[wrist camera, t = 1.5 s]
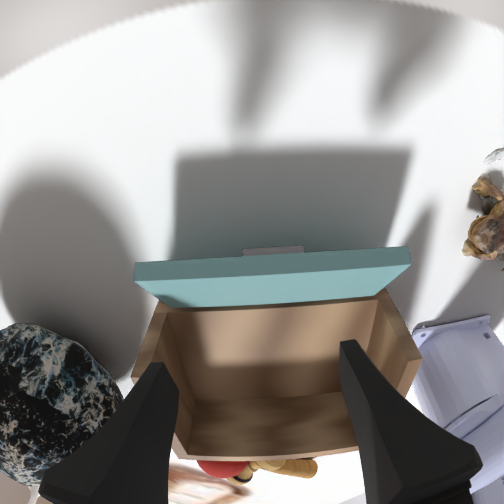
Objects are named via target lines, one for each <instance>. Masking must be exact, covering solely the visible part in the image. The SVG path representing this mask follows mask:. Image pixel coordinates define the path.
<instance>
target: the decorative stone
mask: <svg viewBox="0 0 504 504" xmlns="http://www.w3.org/2000/svg"><path fill="white" fill-rule="evenodd" d="M123 401H124V399H123V396H122V394H121V392H120V390H119V388H118V386H117V384H116V383H115V381H114V379H113V378H112V376H111V375H110V374H109V372H108V371H107V370H106V369H105V368H104V367H102V366H101V365H100V364H99V363H98V362H97V361H96V360H95V358H94V357H93V356H92V355H91V354H90V353H89V352H88V351H87V350H86V348H85V347H83V346H82V345H81V344H80V343H78V342H76V341H73V340H70V339H67V338H64V337H62V336H60V335H58V334H56V333H54V332H52V331H50V330H47V329H45V328H43V327H41V326H38V325H33V324H23V323H15V324H13V325H11V326H8V327H7V328H5V329H2V330H0V472H2V473H3V474H4V475H6V476H8V477H10V478H12V479H14V480H15V481H18V482H19V483H21V484H23V485H27V486H30V487H31V486H37V487H40V483H41V480H42V477H43V474H44V471H45V470H46V469H48V468H50V467H52V466H53V465H55V464H57V463H58V462H60V461H62V460H63V459H65V458H66V457H68V456H69V455H70V454H72V453H73V452H74V451H76V450H77V449H78V448H80V447H81V446H82V445H83V444H84V443H85V442H86V441H88V440H89V439H90V438H91V437H92V436H93V435H94V434H95V433H96V432H97V431H98V430H99V429H100V428H101V427H102V426H103V425H104V424H105V423H106V422H107V421H108V419H109V418H110V417H111V416H112V415H113V413H114V412H115V411H116V410H117V408H118V407H119V406H120V405H121V403H122V402H123Z"/></svg>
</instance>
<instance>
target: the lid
mask: <svg viewBox="0 0 504 504" xmlns="http://www.w3.org/2000/svg"><path fill="white" fill-rule="evenodd" d="M410 265H412V263H411V258H410V254H409V249H408V246H401V247H386V248H370V249H354V250H338V251H322V252H305V253H304V245H300V246H283V247H267V248H250V249H243V256H239V257H222V258H205V259H188V260H170V261H153V262H135V272H134V282H135V283H137V284H138V285H140V286H141V287H142V288H144V289H145V290H146V291H148V292H149V293H151V294H152V295H154V296H155V297H156V298H158V299H159V300H161V301H162V302H164V303H165V304H166V305H168V306H169V307H171V308H188V307H218V306H241V305H260V304H277V303H292V302H306V301H319V300H331V299H342V298H353V297H363V296H373V295H375V294H376V293H378V292H379V291H380V290H381V289H383V288H384V287H385V286H386V285H388V284H389V283H390V282H391V281H392V280H394V279H395V278H396V277H397V276H399V275H400V274H401V273H402V272H403V271H404V270H406V269H407V268H408V267H409V266H410Z"/></svg>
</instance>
